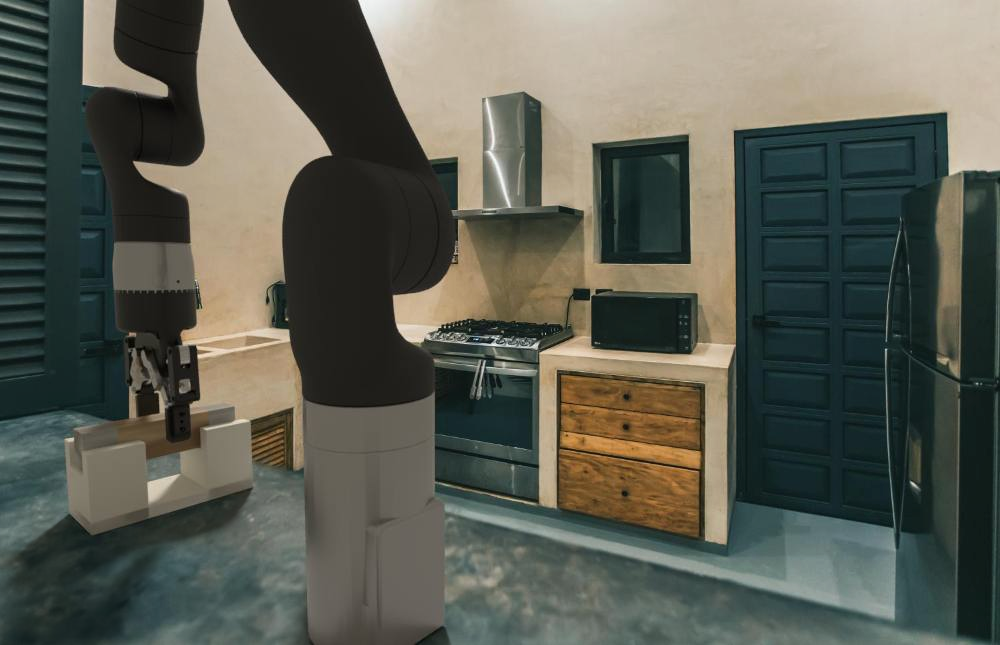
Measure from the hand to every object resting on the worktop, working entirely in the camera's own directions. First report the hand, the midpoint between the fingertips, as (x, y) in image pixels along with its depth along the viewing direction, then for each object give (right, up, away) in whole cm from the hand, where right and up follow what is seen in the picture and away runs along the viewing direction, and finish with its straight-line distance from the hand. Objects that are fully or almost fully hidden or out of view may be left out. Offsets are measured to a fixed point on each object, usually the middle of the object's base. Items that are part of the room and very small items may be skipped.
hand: (163, 433), depth 63 cm
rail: (0, -2, 0) cm, 2 cm away
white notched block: (0, -8, +1) cm, 8 cm away
